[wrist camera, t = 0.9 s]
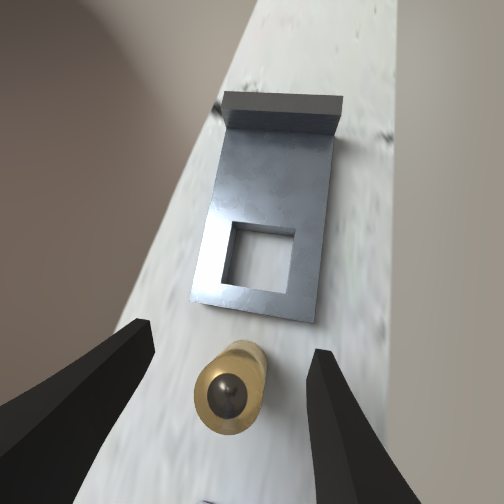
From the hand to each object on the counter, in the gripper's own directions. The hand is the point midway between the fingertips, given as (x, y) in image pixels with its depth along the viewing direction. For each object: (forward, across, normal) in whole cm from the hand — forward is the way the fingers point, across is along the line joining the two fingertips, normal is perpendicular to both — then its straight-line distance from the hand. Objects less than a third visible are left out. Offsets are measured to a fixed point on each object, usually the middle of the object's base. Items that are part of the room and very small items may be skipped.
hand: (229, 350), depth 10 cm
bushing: (+7, 0, +11) cm, 13 cm away
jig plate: (+17, 0, -1) cm, 17 cm away
